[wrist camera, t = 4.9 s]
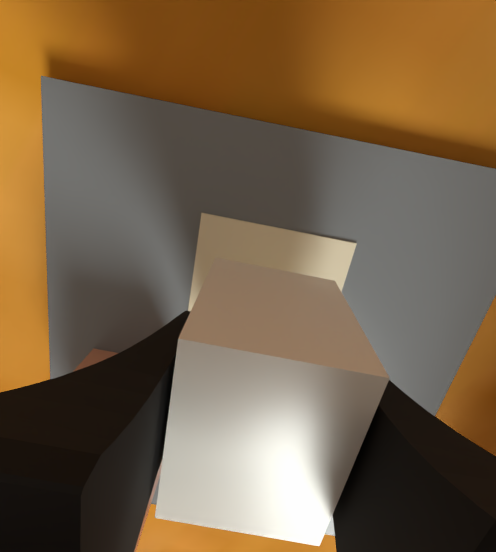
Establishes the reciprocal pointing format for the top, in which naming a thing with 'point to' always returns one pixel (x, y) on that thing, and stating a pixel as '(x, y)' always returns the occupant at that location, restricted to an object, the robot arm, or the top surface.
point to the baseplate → (257, 228)
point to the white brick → (266, 404)
